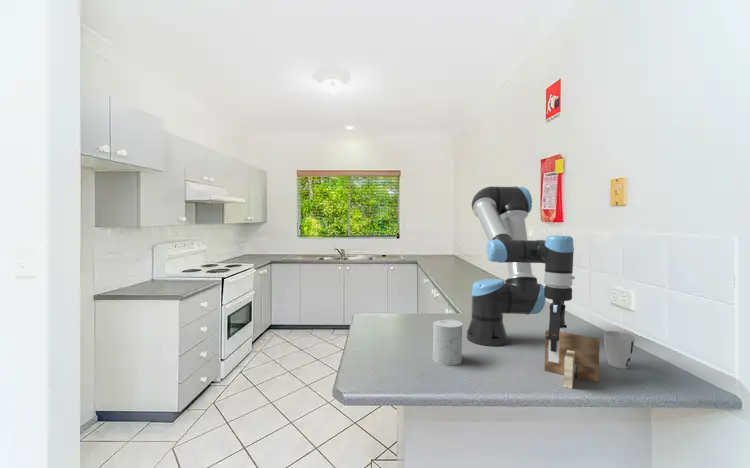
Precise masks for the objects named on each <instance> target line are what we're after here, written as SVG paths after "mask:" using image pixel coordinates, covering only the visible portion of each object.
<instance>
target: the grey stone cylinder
mask: <svg viewBox="0 0 750 468" xmlns="http://www.w3.org/2000/svg"><path fill="white" fill-rule="evenodd" d="M432 323H433V325H432V326H433V327H432V330H433V331H432V333H433V334H432V335H433V336H432V361H433V362H434V363H436V364H440V365H442V366H457V365H460V364H462V362H463V359H462V358H463V357H462V354H463V353H462V352H463V350H462V349H463V323H462V322H461V321H460V320H457V319H450V318H438V319H434V320H433V322H432Z"/></svg>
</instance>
